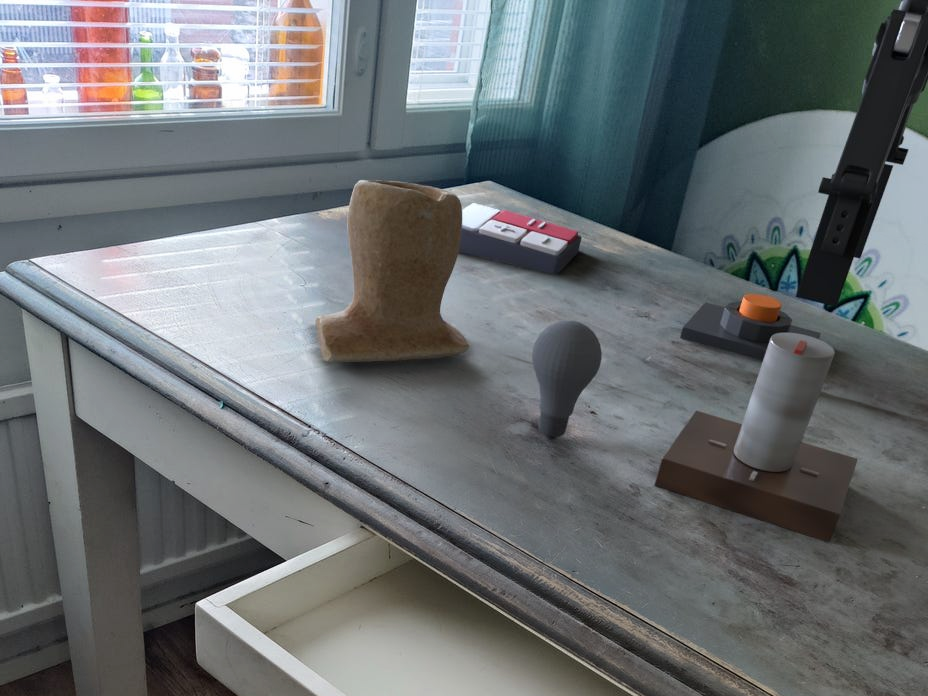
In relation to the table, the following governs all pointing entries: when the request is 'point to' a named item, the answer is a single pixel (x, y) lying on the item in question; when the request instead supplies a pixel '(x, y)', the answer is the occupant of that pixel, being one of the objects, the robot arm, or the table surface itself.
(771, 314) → the plunger
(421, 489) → the table surface
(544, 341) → the light bulb
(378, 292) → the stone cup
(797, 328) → the button block
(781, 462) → the dial
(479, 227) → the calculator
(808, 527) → the dial panel
